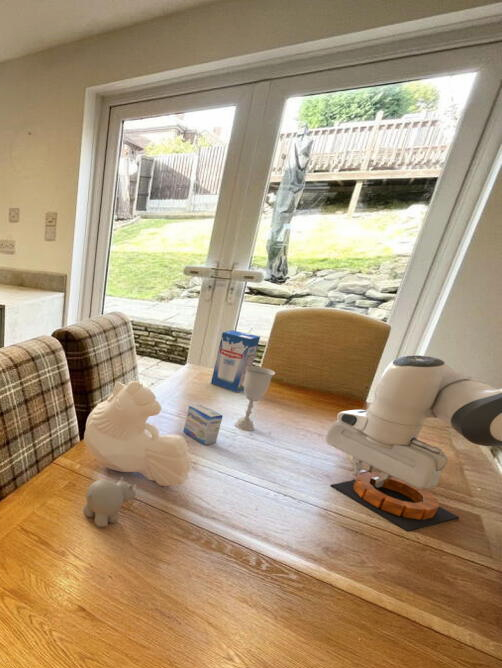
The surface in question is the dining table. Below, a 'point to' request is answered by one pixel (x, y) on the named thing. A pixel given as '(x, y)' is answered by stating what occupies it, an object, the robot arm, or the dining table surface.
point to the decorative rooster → (135, 437)
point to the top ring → (418, 510)
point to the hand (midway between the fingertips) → (366, 480)
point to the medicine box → (202, 424)
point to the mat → (400, 521)
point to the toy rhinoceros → (107, 500)
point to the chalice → (254, 391)
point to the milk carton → (234, 359)
